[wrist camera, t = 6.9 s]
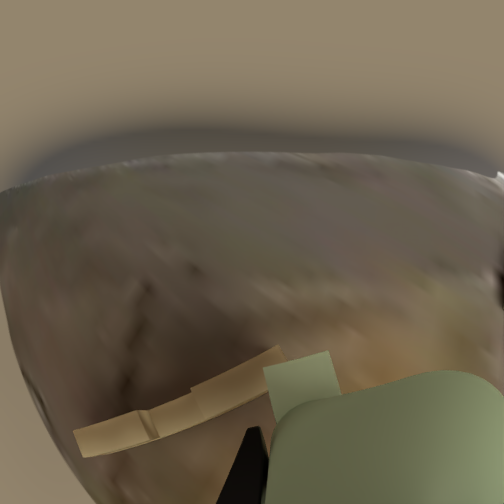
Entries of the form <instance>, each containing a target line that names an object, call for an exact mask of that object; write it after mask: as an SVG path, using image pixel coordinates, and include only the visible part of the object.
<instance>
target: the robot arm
mask: <svg viewBox="0 0 504 504" xmlns="http://www.w3.org/2000/svg"><path fill="white" fill-rule="evenodd" d="M268 469H269V457H268V453H267V448H266V444H265V440H264V437H263V434H262V431H261V428H260V427H259V426H256V427H250V428H248V429H247V431H246V433H245V436H244V438H243V441H242V443H241V446H240V448H239V451H238V453H237V456H236V458H235V460H234V463H233V465H232V468H231V470H230V472H229V475H228V477H227V479H226V482H225V484H224V486H223V489H222V491H221V493H220V495H219V498H218V500H217V502H216V504H265V500H266V490H267V479H268ZM503 504H504V503H503Z"/></svg>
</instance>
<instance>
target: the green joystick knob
mask: <svg viewBox="0 0 504 504" xmlns="http://www.w3.org/2000/svg"><path fill="white" fill-rule="evenodd" d="M263 371H264V375H265V379H266V384H267V388H268V392H269V396H270V400H271V404H272V408H273V412H274V416H275V420H276V424H277V425H276V427H275V429H274V431H273V434H272V438H271V445H270V457H269V469H268V479H267V490H266V500H265V504H503V503H504V397H503V396H502V394H501V393H500V392H499V391H498V390H497V389H496V388H495V387H494V386H493V385H492V384H491V383H489V382H487V381H486V380H484V379H482V378H481V377H478V376H475V375H473V374H470V373H466V372H460V371H446V370H441V371H433V372H426V373H422V374H418V375H414V376H410V377H407V378H404V379H401V380H397V381H394V382H391V383H387V384H384V385H380V386H376V387H373V388H369V389H365V390H361V391H357V392H352V393H348V394H343V395H341V391H340V388H339V384H338V381H337V377H336V374H335V370H334V367H333V364H332V360H331V357H330V354H329V350H327V351H324V352H321V353H317V354H314V355H310V356H307V357H303V358H299V359H296V360H292V361H288V362H284V363H280V364H276V365H272V366H267V367H263Z"/></svg>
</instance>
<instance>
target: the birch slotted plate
mask: <svg viewBox="0 0 504 504" xmlns="http://www.w3.org/2000/svg"><path fill="white" fill-rule="evenodd" d="M284 362H288V360H287V359H286V357H285V355H284V354H283V352H282V350H281V349H280V347H279V345H276V346H274V347H273V348H271V349H269V350H267V351H265V352H263V353H261V354H259V355H258V356H256V357H254V358H252V359H250V360H248V361H246V362H244V363H242V364H240V365H238V366H236V367H234V368H232V369H230V370H228V371H226V372H224V373H222V374H220V375H218V376H215V377H213V378H211V379H209V380H207V381H205V382H203V383H200V384H198V385H196V386H194V387H191V388H190V390H191V393H189V394H187V395H184V396H182V397H180V398H177V399H175V400H173V401H170V402H168V403H165V404H163V405H160V406H158V407H155V408H152V409H150V410H135V411H132V412H129V413H126V414H124V415H121V416H118V417H115V418H112V419H109V420H106V421H103V422H100V423H97V424H94V425H90V426H87V427H84V428H80V429H77V430H73V433H74V435H75V438H76V441H77V443H78V446H79V448H80V451H81V453H82V456H83V458H85V457H92V456H99V455H105V454H110V453H114V452H118V451H122V450H125V449H129V448H132V447H136V446H139V445H142V444H145V443H149V442H152V441H155V440H158V439H161V438H164V437H166V436H169V435H172V434H175V433H177V432H180V431H183V430H185V429H188V428H191V427H193V426H196V425H198V424H200V423H203V422H205V421H208V420H210V419H212V418H215V417H217V416H219V415H222V414H224V413H226V412H228V411H230V410H233V409H235V408H237V407H239V406H241V405H243V404H245V403H247V402H249V401H251V400H253V399H255V398H257V397H259V396H261V395H263V394H265V393H267V392H268V388H267V384H266V379H265V375H264V371H263V367H267V366H272V365H276V364H280V363H284Z"/></svg>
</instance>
